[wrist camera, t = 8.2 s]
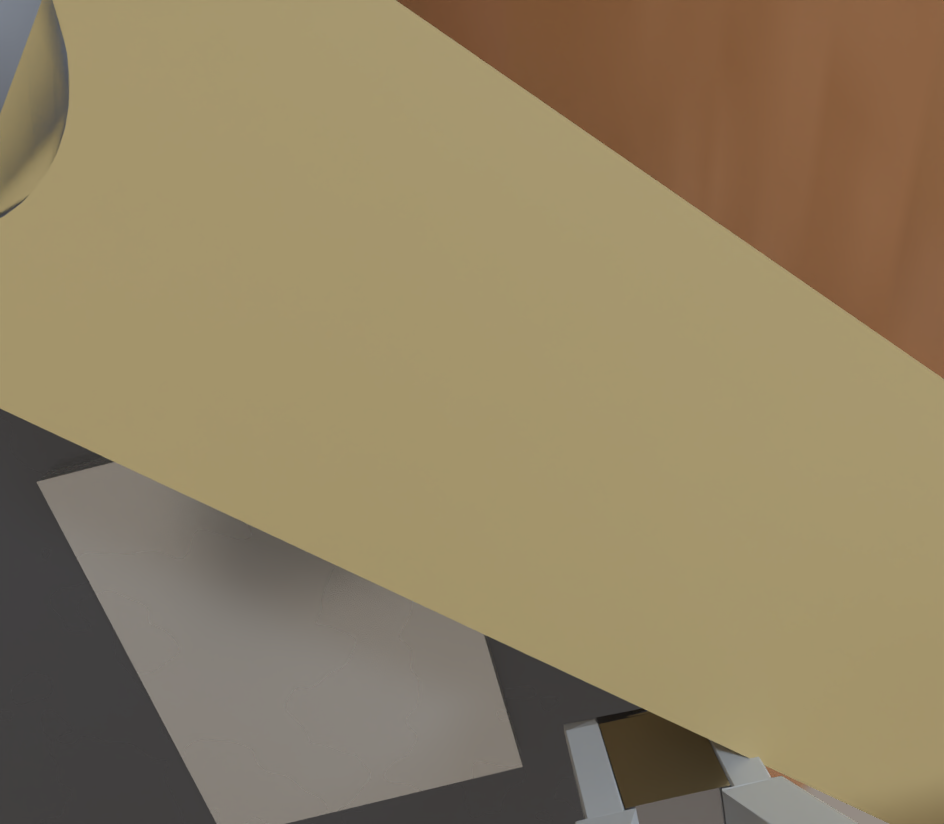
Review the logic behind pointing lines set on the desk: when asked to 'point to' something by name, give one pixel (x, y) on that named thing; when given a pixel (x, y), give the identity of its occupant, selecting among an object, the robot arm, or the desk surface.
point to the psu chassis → (244, 672)
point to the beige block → (476, 369)
